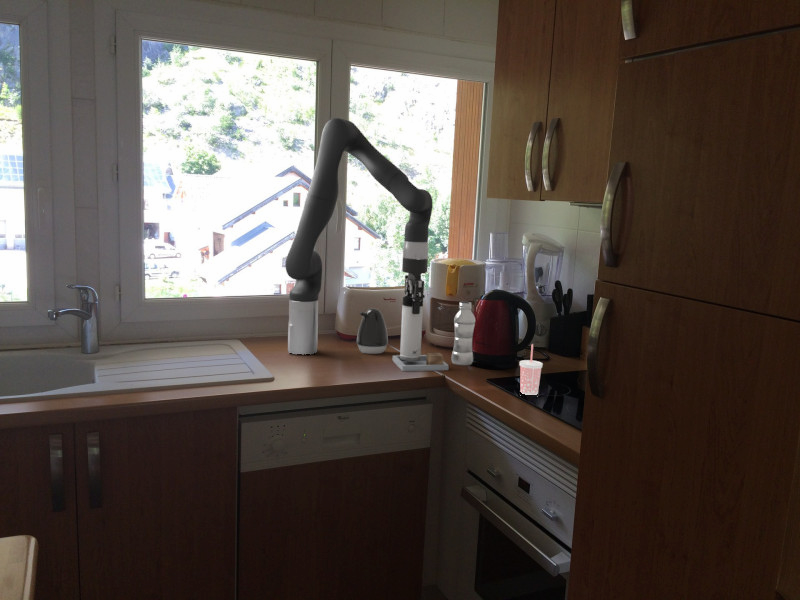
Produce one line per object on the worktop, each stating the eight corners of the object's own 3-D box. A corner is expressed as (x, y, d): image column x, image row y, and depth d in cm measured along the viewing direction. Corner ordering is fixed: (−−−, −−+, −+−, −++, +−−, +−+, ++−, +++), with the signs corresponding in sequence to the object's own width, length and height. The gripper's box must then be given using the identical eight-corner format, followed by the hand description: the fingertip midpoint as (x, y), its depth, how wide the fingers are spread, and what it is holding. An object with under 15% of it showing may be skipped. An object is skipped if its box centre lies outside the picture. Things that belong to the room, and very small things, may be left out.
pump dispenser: (349, 352, 220) (350, 307, 218) (373, 349, 227) (375, 304, 225) (369, 359, 212) (370, 311, 210) (393, 355, 219) (395, 309, 217)
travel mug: (419, 362, 201) (422, 296, 198) (398, 360, 202) (400, 295, 199) (423, 357, 207) (426, 293, 204) (402, 355, 208) (405, 292, 205)
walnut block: (429, 369, 199) (430, 356, 198) (426, 365, 203) (426, 352, 202) (442, 368, 200) (443, 355, 199) (438, 365, 204) (439, 352, 203)
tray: (402, 374, 196) (402, 366, 195) (392, 363, 208) (392, 355, 208) (448, 373, 199) (448, 365, 199) (435, 362, 211) (436, 354, 211)
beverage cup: (537, 392, 183) (541, 342, 180) (542, 399, 177) (546, 347, 174) (515, 391, 182) (518, 341, 180) (519, 398, 176) (523, 346, 174)
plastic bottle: (452, 362, 212) (455, 300, 209) (473, 364, 211) (477, 301, 208) (449, 367, 206) (453, 303, 203) (471, 369, 205) (475, 304, 202)
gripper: (397, 254, 206) (395, 307, 209) (409, 258, 192) (406, 316, 195) (421, 254, 208) (418, 308, 210) (434, 259, 194) (431, 316, 197)
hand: (412, 311), depth 203 cm, fingers closed on travel mug, 6 cm apart
